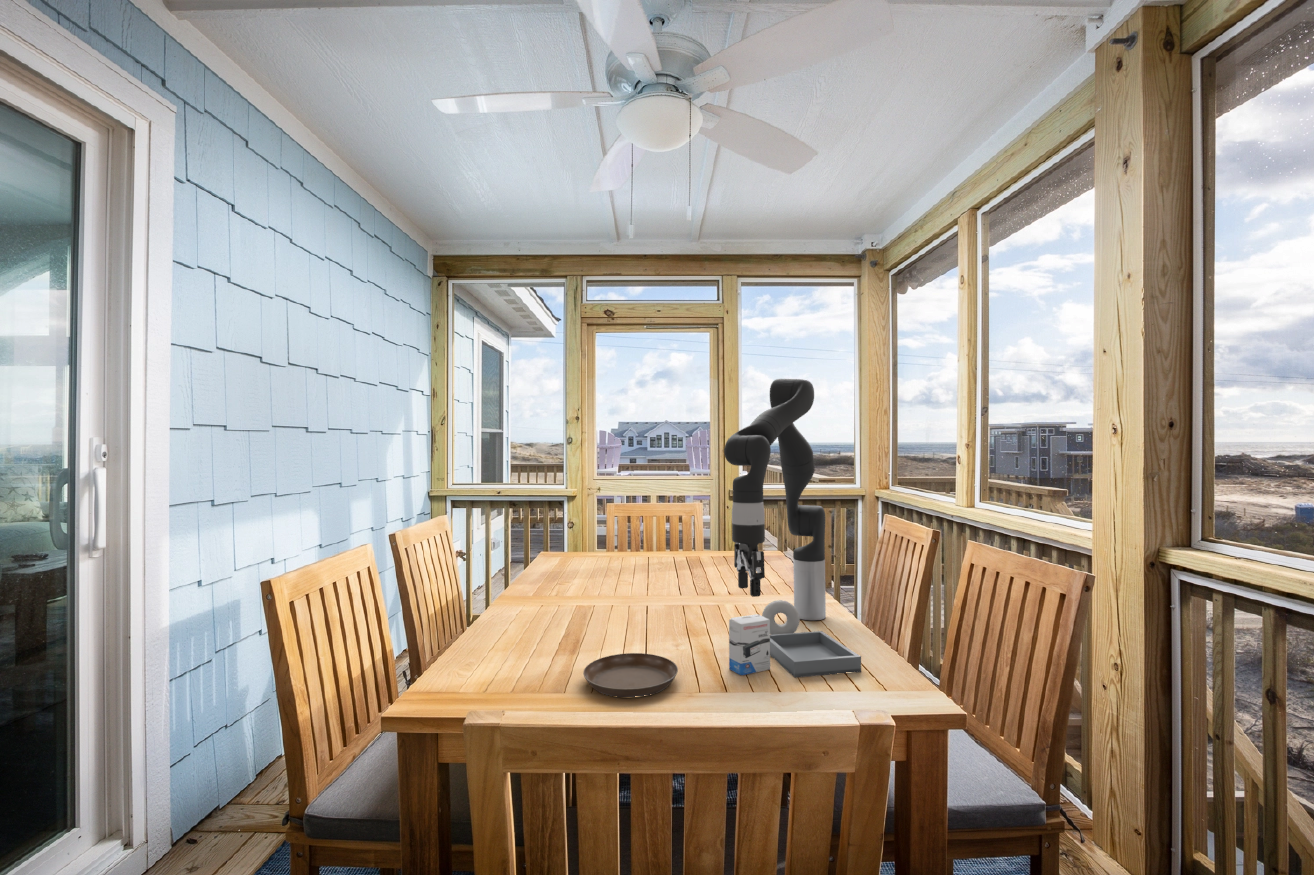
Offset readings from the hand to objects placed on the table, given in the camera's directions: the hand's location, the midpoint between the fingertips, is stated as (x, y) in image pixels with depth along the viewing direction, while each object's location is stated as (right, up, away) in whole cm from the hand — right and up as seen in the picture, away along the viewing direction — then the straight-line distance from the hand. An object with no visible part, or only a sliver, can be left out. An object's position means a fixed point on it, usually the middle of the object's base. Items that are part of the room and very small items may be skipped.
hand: (749, 592), depth 145 cm
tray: (+15, -18, +6) cm, 24 cm away
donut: (+12, -18, +23) cm, 32 cm away
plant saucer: (-27, -19, -7) cm, 34 cm away
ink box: (0, -18, 0) cm, 18 cm away
